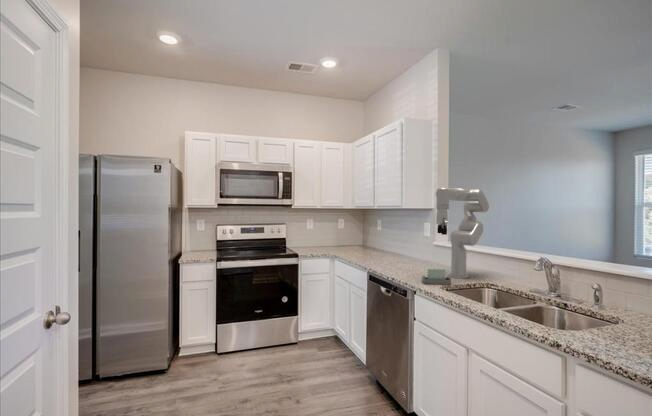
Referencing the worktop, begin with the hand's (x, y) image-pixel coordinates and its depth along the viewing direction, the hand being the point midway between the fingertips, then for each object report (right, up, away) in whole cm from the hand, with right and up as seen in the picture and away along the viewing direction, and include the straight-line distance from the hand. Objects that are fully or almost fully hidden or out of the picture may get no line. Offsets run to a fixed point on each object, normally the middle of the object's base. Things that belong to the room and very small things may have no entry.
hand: (442, 233), depth 209 cm
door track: (-6, -30, -7) cm, 32 cm away
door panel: (-6, -29, -7) cm, 31 cm away
